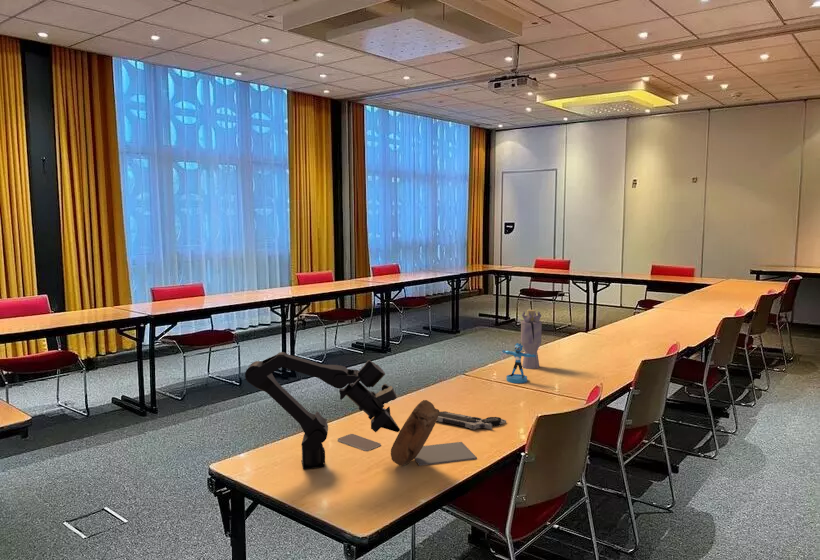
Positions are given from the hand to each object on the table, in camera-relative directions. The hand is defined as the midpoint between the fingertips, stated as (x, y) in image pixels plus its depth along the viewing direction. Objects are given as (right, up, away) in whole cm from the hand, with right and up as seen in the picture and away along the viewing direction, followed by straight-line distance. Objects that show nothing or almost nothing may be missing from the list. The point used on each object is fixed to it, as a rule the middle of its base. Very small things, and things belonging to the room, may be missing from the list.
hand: (399, 430), depth 184 cm
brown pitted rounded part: (+1, -8, 0) cm, 8 cm away
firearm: (+25, -7, +37) cm, 45 cm away
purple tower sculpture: (+66, +2, +120) cm, 137 cm away
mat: (+14, -9, +6) cm, 18 cm away
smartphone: (-14, -9, +17) cm, 24 cm away
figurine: (+54, -1, +94) cm, 108 cm away
